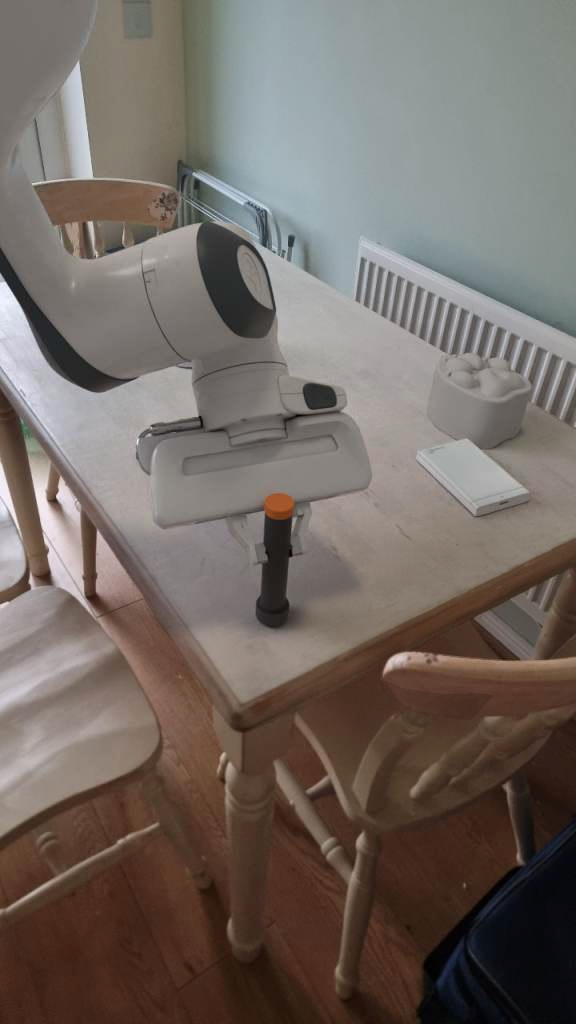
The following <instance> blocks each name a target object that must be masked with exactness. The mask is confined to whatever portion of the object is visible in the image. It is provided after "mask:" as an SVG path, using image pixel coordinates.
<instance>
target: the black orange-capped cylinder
mask: <svg viewBox="0 0 576 1024" xmlns="http://www.w3.org/2000/svg"><path fill="white" fill-rule="evenodd" d="M263 512H264V518H263V519H264V520H263V537H262V539H263V541H262V543H264V544H265V547H266V551H265V553H266V554H267V556H268V562H267V563H263V564H261V579H260V594H259V596H258V597H257V598H256V601H255V618H256V619H257V621H258V622H259V623H261V624H262V625H264V626H267V627H278V626H281V625H283V624H285V623H286V622H287V620H288V618H289V614H290V601H289V599H288V598H287V587H288V577H289V566H290V565H289V563H290V557H289V554H290V542H291V537H292V531H293V529H292V528H293V512H294V500H293V499H292V498H291V497H290V496H289V495H287V494H283V493H274V494H271V495H269V496H268V497H267V498H266V499H265V507H264V511H263Z"/></svg>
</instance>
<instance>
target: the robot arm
mask: <svg viewBox="0 0 576 1024" xmlns="http://www.w3.org/2000/svg"><path fill="white" fill-rule="evenodd" d="M99 3H100V2H99V0H0V275H1V277H2V279H3V280H4V282H5V283H6V285H7V287H8V288H9V291H11V293H12V295H13V296H14V299H15V300H16V301H17V303H18V305H19V306H20V308H21V310H22V312H23V315H24V317H25V319H26V322H27V324H28V327H29V328H30V331H31V333H32V336H33V338H34V340H35V343H36V345H37V347H38V349H39V351H40V353H41V355H42V356H43V358H44V360H45V361H46V363H47V365H48V366H49V367H50V368H51V369H52V371H54V372H55V373H56V374H57V375H58V376H60V377H61V378H62V379H64V380H66V381H67V382H69V383H71V384H72V385H75V386H77V387H79V388H81V389H83V390H86V391H89V392H90V393H95V394H103V393H105V392H108V391H111V390H113V389H116V388H118V387H120V386H122V385H125V384H127V383H130V382H133V381H135V380H137V379H138V378H140V377H143V376H145V375H149V374H153V373H156V372H159V371H161V370H165V369H166V370H167V369H169V368H172V367H175V366H177V365H179V364H182V363H186V362H189V361H192V367H191V368H192V369H191V371H192V373H191V387H192V393H193V397H194V401H195V406H196V411H197V416H192V417H189V418H188V417H187V418H181V419H179V420H177V419H176V420H173V421H168V422H165V421H160V422H159V421H158V422H155V423H152V424H150V425H149V428H147V429H145V430H143V431H142V432H141V433H140V434H139V435H138V437H137V439H136V442H135V452H137V456H138V459H137V461H138V465H139V467H140V469H141V470H142V471H143V472H144V473H145V475H147V476H148V495H149V506H150V510H151V511H150V512H151V518H152V522H153V523H154V524H155V525H156V526H157V527H158V528H160V529H161V530H166V531H167V530H171V529H177V528H181V527H187V526H193V525H198V524H202V523H207V522H213V521H218V520H224V519H225V522H226V526H227V530H228V532H229V533H230V534H231V536H233V538H234V540H236V542H238V544H239V545H240V546H241V547H243V548H244V552H245V553H244V554H245V557H246V561H247V565H248V566H249V567H252V566H253V567H254V566H259V565H262V564H263V563H267V562H268V556H267V554H266V553H265V551H266V547H265V544H264V543H263V542H261V543H256V542H255V541H254V539H253V538H252V537H251V536H250V534H248V532H247V531H246V530H245V529H244V528H246V527H248V526H249V521H248V516H247V515H250V514H256V513H261V512H265V511H264V507H265V499H266V498H267V497H268V496H269V495H271V494H274V493H283V494H287V495H289V496H290V497H291V498H292V499H293V500H294V512H293V518H296V520H295V523H294V526H293V529H292V532H291V542H290V554H289V558H294V557H299V556H302V555H303V556H304V555H307V554H308V545H307V541H306V534H307V531H308V528H309V524H310V522H311V518H312V515H313V511H312V507H311V503H312V502H318V501H322V500H328V499H333V498H339V497H343V496H344V497H345V496H349V495H354V494H357V493H362V492H364V491H366V490H368V488H369V487H370V484H371V482H372V479H373V470H372V466H371V465H372V464H371V461H370V457H369V454H368V453H369V452H368V450H367V447H366V443H365V441H364V438H363V435H362V432H361V430H360V427H359V425H358V423H357V421H355V419H354V418H353V417H352V416H351V415H350V414H347V413H345V412H343V411H344V409H345V408H346V407H347V405H348V395H347V392H346V390H345V389H344V387H342V386H340V385H338V384H332V383H326V382H321V381H316V380H310V379H307V378H303V377H298V376H294V375H290V371H289V366H288V363H287V361H286V358H285V357H284V355H283V353H282V351H281V349H280V345H279V339H278V334H279V333H278V332H279V320H278V315H277V306H276V299H275V295H274V291H273V286H272V282H271V277H270V274H269V271H268V268H267V265H266V262H265V260H264V259H263V257H262V255H261V253H260V252H259V250H258V249H257V247H256V245H255V242H254V241H253V239H252V237H251V235H250V233H248V231H246V230H245V229H244V228H243V227H241V226H239V225H237V224H235V223H231V222H227V221H220V220H219V221H217V220H215V221H209V220H208V221H207V220H206V221H203V222H197V223H191V224H189V225H185V226H182V227H178V228H176V229H173V230H170V231H167V232H165V233H161V234H159V235H156V236H153V237H150V238H148V239H146V240H145V241H143V242H140V243H137V244H134V245H131V246H128V247H126V248H123V249H120V250H118V251H115V252H112V253H109V254H106V255H104V256H101V257H97V258H93V259H92V258H91V259H89V258H81V257H77V256H74V255H72V254H70V253H69V252H68V251H67V249H66V248H65V247H64V244H63V242H62V241H61V238H60V235H59V234H58V232H57V230H56V229H55V227H54V225H53V223H52V220H51V219H50V217H49V215H48V213H47V211H46V209H45V207H44V205H43V203H42V201H41V199H40V196H39V195H38V193H37V191H36V189H35V187H34V185H33V183H32V181H31V179H30V177H29V175H28V173H27V172H26V169H25V167H24V164H23V161H22V158H21V153H20V140H21V138H22V137H23V135H24V134H25V133H26V131H28V129H29V128H30V126H31V124H32V123H33V122H34V121H35V120H36V118H37V117H38V116H39V115H40V114H41V112H42V111H43V110H44V109H45V107H46V106H47V105H48V104H49V103H50V102H51V101H52V99H53V98H54V97H55V96H56V95H57V94H58V92H59V91H60V90H61V89H62V87H63V85H64V84H65V83H66V81H67V80H68V78H69V77H70V75H71V74H72V73H73V71H74V70H75V67H76V66H77V64H78V63H79V60H80V59H81V57H82V55H83V53H84V51H85V49H86V46H87V45H88V42H89V40H90V37H91V35H92V32H93V29H94V25H95V21H96V18H97V13H98V9H99ZM147 435H149V436H147ZM293 518H292V519H293Z"/></svg>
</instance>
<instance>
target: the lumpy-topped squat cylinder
mask: <svg viewBox="0 0 576 1024" xmlns="http://www.w3.org/2000/svg"><path fill="white" fill-rule="evenodd" d="M532 390H533V385H532V383H531V381H530V380H529V379H528V378H527V377H526V376H523V375H522V374H520V373H519V372H516V371H515V370H513V369H512V366H511V364H510V362H509V361H507V360H506V359H505V358H503V357H500V356H499V357H492V358H491V357H490V358H488V357H487V356H486V357H481V356H480V355H479V354H477V353H474V352H465V353H464V354H456V353H453V354H448V355H445V356H442V357H441V358H439V359H438V360H437V362H436V365H435V370H434V373H433V378H432V383H431V387H430V391H429V392H430V393H429V397H428V401H427V406H426V414H427V417H428V418H429V420H430V422H431V424H432V425H433V426H435V428H437V429H439V430H440V431H441V432H443V433H445V434H446V435H448V436H449V437H451V438H453V439H454V440H455V441H458V440H462V439H469V440H470V441H471V442H472V443H474V444H475V445H476V446H477V447H478V448H479V449H481V450H488V449H494V448H496V447H497V446H499V444H501V443H502V442H504V441H507V440H511V439H514V438H515V437H517V436H518V435H519V432H520V429H521V426H522V422H523V418H524V416H525V413H526V409H527V407H528V404H529V401H530V398H531V393H532V392H533V391H532Z"/></svg>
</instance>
